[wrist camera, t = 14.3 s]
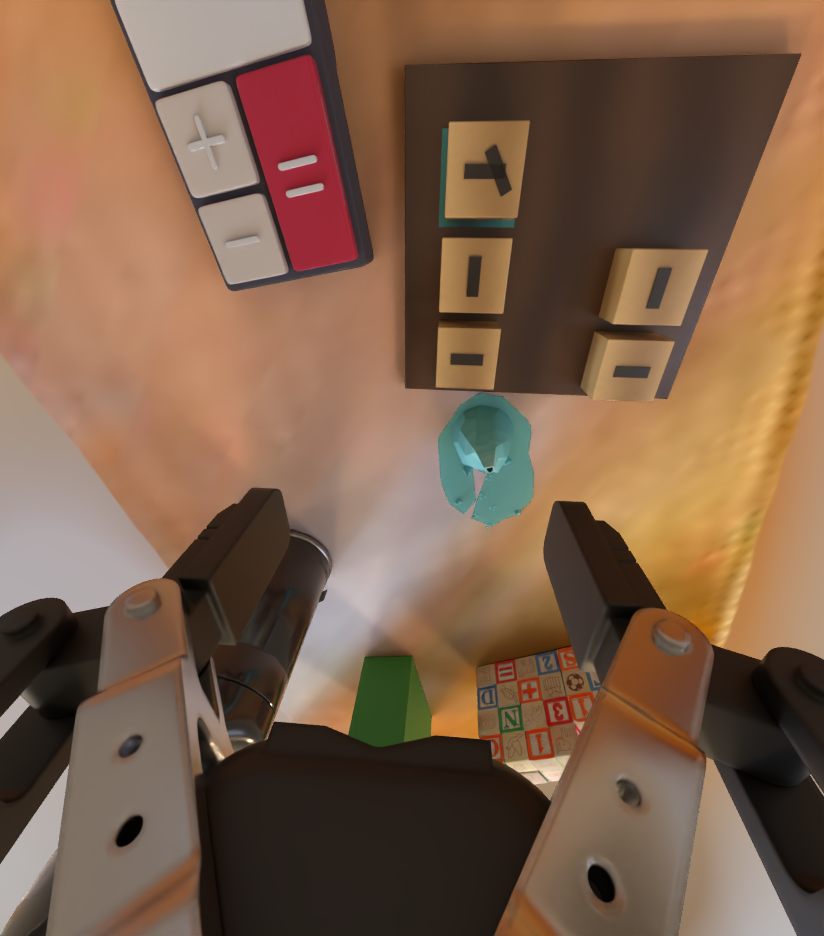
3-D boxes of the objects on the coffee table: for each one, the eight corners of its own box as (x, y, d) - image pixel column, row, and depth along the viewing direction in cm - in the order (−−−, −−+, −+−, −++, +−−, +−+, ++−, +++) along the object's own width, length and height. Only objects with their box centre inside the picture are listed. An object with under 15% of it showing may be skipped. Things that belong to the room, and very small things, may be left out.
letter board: (406, 384, 33) (400, 401, 30) (406, 70, 23) (397, 39, 19) (661, 395, 31) (687, 413, 28) (788, 60, 21) (855, 23, 17)
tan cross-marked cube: (445, 220, 26) (444, 217, 23) (449, 134, 23) (448, 120, 21) (511, 220, 25) (517, 217, 23) (521, 133, 23) (530, 119, 20)
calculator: (222, 294, 27) (91, -20, 19) (249, 285, 31) (148, 17, 22) (366, 266, 25) (289, -95, 17) (376, 260, 29) (316, -41, 21)
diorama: (440, 543, 43) (437, 603, 36) (409, 379, 34) (396, 417, 26) (547, 535, 41) (567, 598, 34) (548, 358, 31) (576, 393, 24)
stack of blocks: (625, 631, 47) (673, 741, 37) (638, 658, 50) (687, 768, 39) (474, 667, 55) (479, 767, 44) (492, 689, 57) (501, 788, 47)
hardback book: (431, 716, 63) (421, 940, 43) (390, 716, 65) (361, 933, 44) (412, 656, 55) (388, 900, 34) (364, 657, 56) (314, 893, 36)
